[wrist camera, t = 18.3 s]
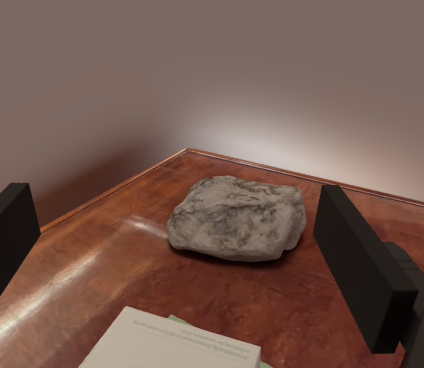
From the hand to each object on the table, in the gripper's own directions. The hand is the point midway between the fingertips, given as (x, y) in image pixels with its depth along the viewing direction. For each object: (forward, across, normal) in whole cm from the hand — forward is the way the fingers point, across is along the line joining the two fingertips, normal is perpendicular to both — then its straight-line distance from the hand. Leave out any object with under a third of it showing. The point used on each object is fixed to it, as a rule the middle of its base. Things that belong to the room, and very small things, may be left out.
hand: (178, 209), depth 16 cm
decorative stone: (+29, +7, -23) cm, 37 cm away
